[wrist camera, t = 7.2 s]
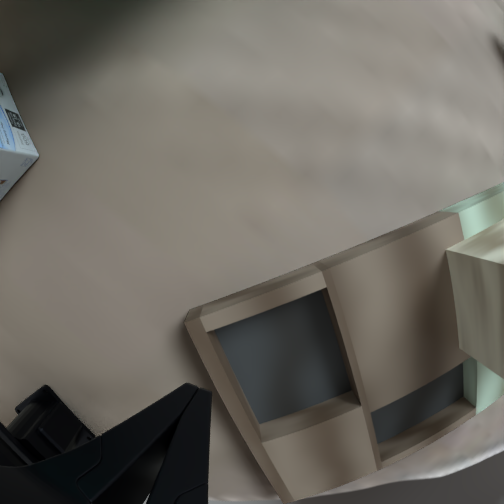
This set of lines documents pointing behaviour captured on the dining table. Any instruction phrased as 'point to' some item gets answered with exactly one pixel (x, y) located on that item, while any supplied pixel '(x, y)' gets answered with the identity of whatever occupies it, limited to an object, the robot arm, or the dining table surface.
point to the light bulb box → (12, 142)
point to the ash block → (480, 295)
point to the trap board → (350, 355)
